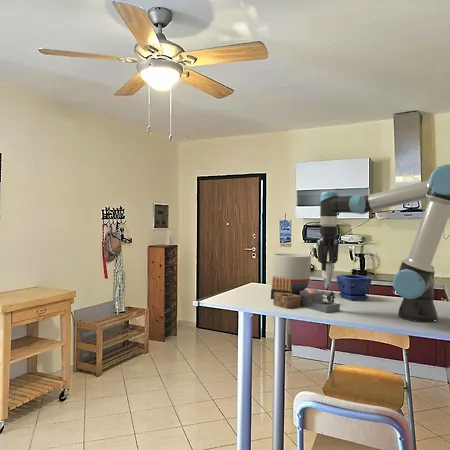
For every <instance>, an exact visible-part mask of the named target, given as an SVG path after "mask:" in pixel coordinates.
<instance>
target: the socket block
mask: <svg viewBox="0 0 450 450" xmlns="http://www.w3.org/2000/svg"><path fill="white" fill-rule="evenodd" d="M308 290H309V289H305V290H304V291H300V293H299V296H301V307H302V308H306V309H310V310H314V311H317V312H320V313H325V314H327V313H328V314H329V313H333V312H334V313H336V312H340V305H341V304H340V303H337V302H334V303H332V302H328V300H325V299H323V295H324V292H323V291H318V290H317V291H315V290H313V291H315V293H310V292H308Z"/></svg>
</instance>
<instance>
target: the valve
mask: <svg viewBox="0 0 450 450" xmlns="http://www.w3.org/2000/svg"><path fill="white" fill-rule="evenodd" d="M309 290H315V291H318V289H317V288H310V289H309ZM335 299H336V296H335V292H334V291H332V290H331V291H330V293H328V295H325V294H323V300H326V301H328V302H332V303H335Z"/></svg>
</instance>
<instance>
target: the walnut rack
mask: <svg viewBox="0 0 450 450" xmlns="http://www.w3.org/2000/svg"><path fill="white" fill-rule="evenodd" d="M272 305H273V306H275V307H280V308H282V309H283V308H284V309H287V310H288V309H293V308H300V307H301V296H300V295H298V294H290V293H283V294H274V299H273V303H272Z"/></svg>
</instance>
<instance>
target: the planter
mask: <svg viewBox="0 0 450 450" xmlns="http://www.w3.org/2000/svg"><path fill="white" fill-rule="evenodd" d="M311 259H312V255H309V254H302V253H283V252H282V253H274V254H273V276H274V279H275V281H276V276H277V277H278V284H279V277H281V285H282V279H283V276H284V282H285V281H286V277H287V278H288V285H289V278H291V291H292V294H294V295H298V294H300V291H305V290H307V288H308V286H309V283H310V278H311V264H312V263H311V262H312V260H311ZM281 288H282V286H281Z"/></svg>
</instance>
